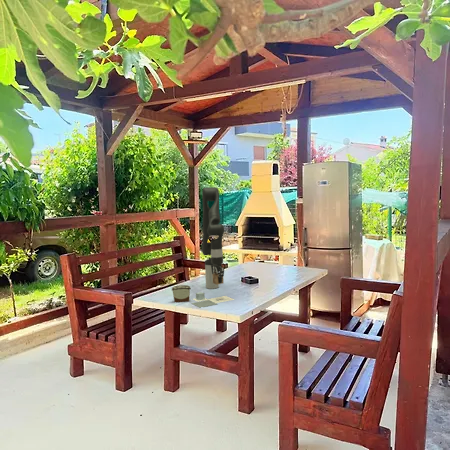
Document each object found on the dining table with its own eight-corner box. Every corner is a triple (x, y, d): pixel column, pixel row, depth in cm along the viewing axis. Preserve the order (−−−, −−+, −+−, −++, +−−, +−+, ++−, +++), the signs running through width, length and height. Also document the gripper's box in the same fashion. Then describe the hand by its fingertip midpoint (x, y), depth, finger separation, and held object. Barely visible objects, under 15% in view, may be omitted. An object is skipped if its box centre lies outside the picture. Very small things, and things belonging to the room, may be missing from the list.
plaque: (192, 299, 251) (192, 299, 251) (203, 297, 255) (203, 296, 255) (197, 302, 244) (197, 301, 244) (208, 299, 248) (208, 299, 248)
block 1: (196, 299, 250) (195, 293, 250) (201, 298, 253) (200, 292, 252) (199, 300, 247) (199, 294, 247) (204, 299, 249) (204, 293, 249)
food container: (192, 299, 251) (191, 284, 250) (191, 302, 245) (190, 286, 244) (173, 300, 251) (172, 285, 250) (172, 303, 245) (171, 287, 244)
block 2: (212, 283, 247) (212, 273, 246) (219, 281, 249) (219, 272, 249) (216, 284, 242) (216, 275, 242) (223, 283, 245) (223, 274, 244)
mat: (191, 304, 240) (191, 303, 240) (208, 300, 246) (208, 299, 246) (200, 308, 230) (199, 307, 230) (217, 304, 236) (217, 304, 236)
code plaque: (203, 300, 248) (203, 299, 248) (225, 296, 255) (225, 295, 255) (212, 304, 237) (212, 303, 237) (234, 300, 245) (234, 299, 245)
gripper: (227, 256, 240) (228, 283, 241) (216, 253, 252) (217, 279, 254) (217, 258, 236) (218, 285, 238) (206, 255, 249) (207, 281, 250)
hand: (218, 282), depth 246 cm, fingers closed on block 2, 5 cm apart
